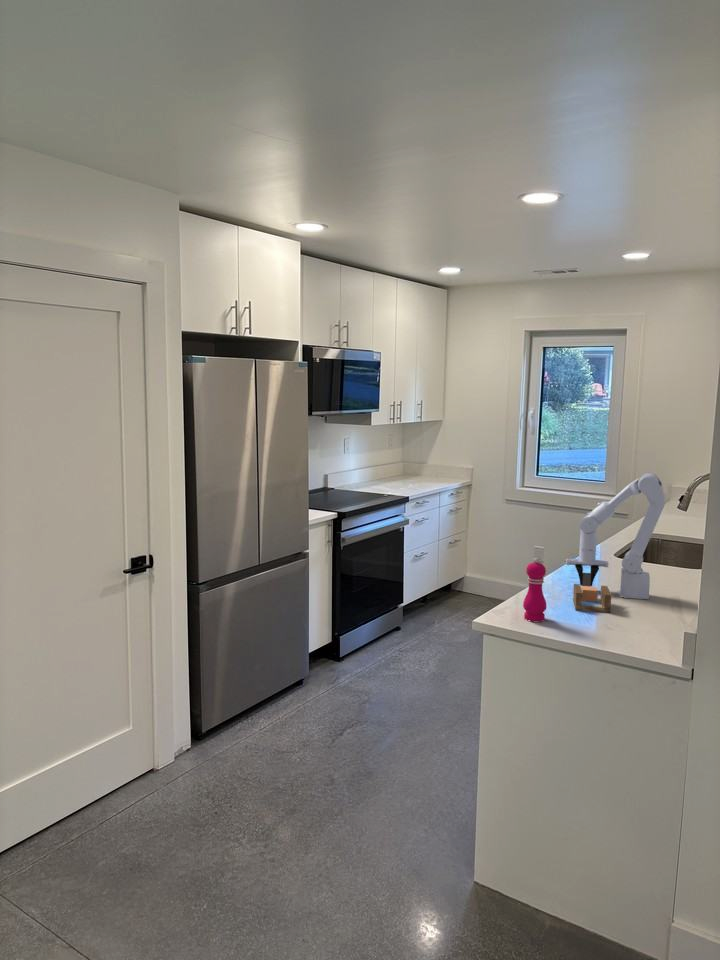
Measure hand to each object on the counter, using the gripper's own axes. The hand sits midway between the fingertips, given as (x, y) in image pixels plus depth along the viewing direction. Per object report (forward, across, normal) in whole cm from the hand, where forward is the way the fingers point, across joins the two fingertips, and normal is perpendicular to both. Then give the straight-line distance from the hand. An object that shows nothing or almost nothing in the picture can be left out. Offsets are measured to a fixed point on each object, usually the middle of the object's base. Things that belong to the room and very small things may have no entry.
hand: (586, 585), depth 249 cm
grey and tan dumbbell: (+2, 0, +7) cm, 7 cm away
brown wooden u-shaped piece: (+2, 0, +20) cm, 20 cm away
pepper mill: (+2, +19, +38) cm, 42 cm away
